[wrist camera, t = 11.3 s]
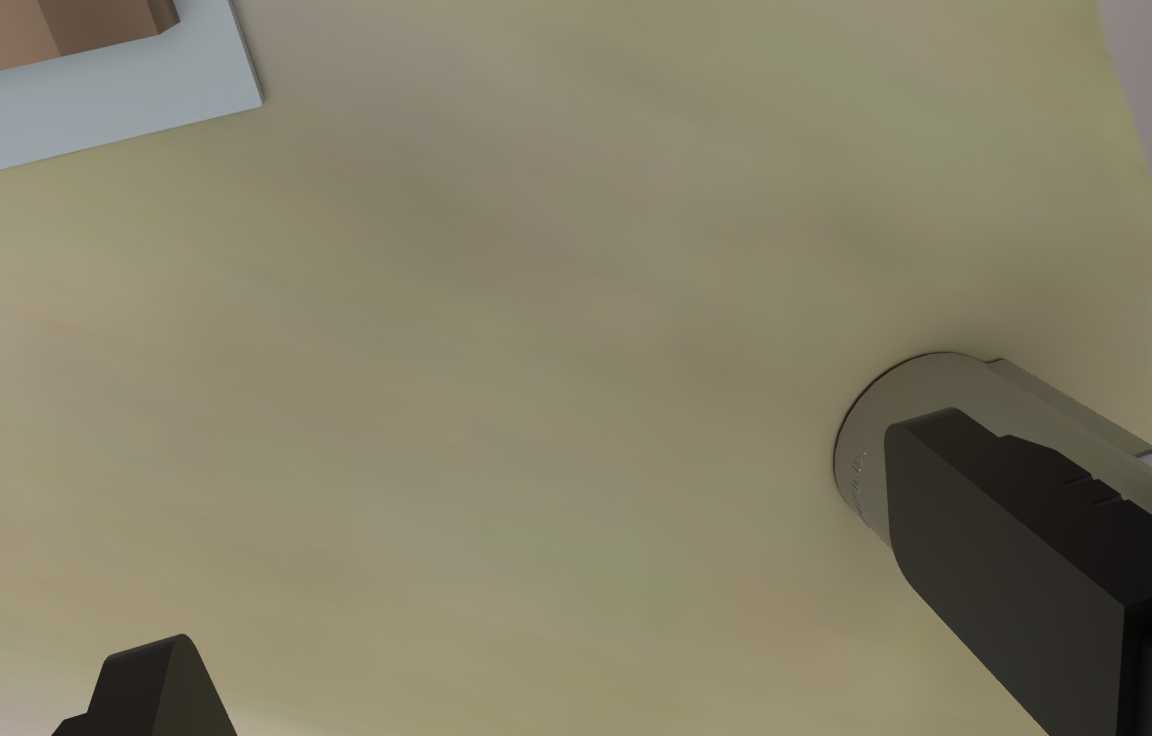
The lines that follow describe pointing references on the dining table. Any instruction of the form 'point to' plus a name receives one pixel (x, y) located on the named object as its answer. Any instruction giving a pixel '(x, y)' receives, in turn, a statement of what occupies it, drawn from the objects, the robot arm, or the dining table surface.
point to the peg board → (129, 87)
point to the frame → (76, 26)
